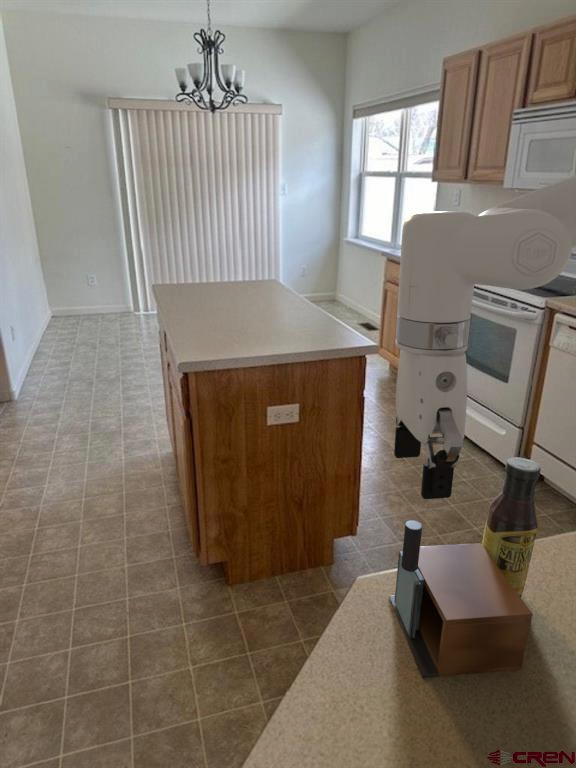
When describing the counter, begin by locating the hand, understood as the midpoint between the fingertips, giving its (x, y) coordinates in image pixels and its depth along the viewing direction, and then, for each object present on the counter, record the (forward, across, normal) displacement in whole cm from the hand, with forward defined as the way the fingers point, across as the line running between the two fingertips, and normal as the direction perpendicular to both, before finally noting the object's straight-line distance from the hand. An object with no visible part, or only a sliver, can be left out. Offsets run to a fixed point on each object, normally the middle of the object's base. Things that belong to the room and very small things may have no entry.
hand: (420, 475), depth 62 cm
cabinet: (+21, -3, -6) cm, 22 cm away
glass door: (+20, -1, +1) cm, 20 cm away
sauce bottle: (+21, +3, -14) cm, 26 cm away
